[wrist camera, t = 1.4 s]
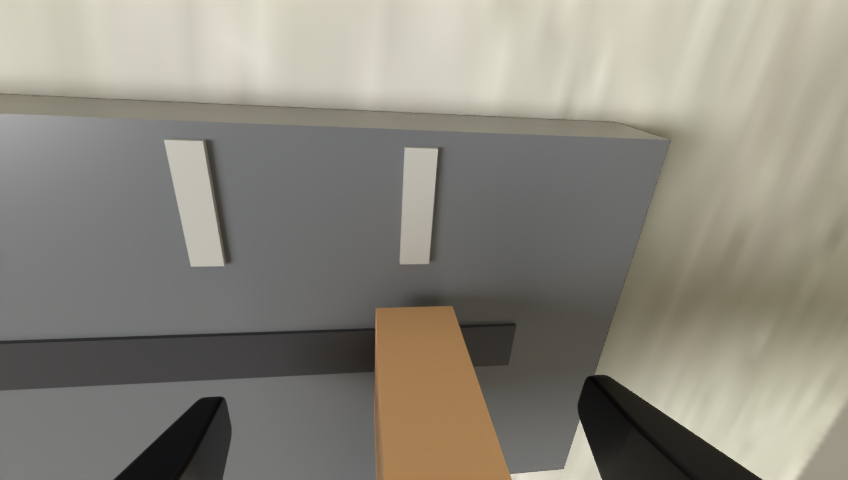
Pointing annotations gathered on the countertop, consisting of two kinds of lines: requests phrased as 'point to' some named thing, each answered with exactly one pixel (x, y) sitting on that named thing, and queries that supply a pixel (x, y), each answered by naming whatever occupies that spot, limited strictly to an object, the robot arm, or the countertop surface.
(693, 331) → the countertop surface
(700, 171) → the countertop surface
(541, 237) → the console
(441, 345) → the fader tab
